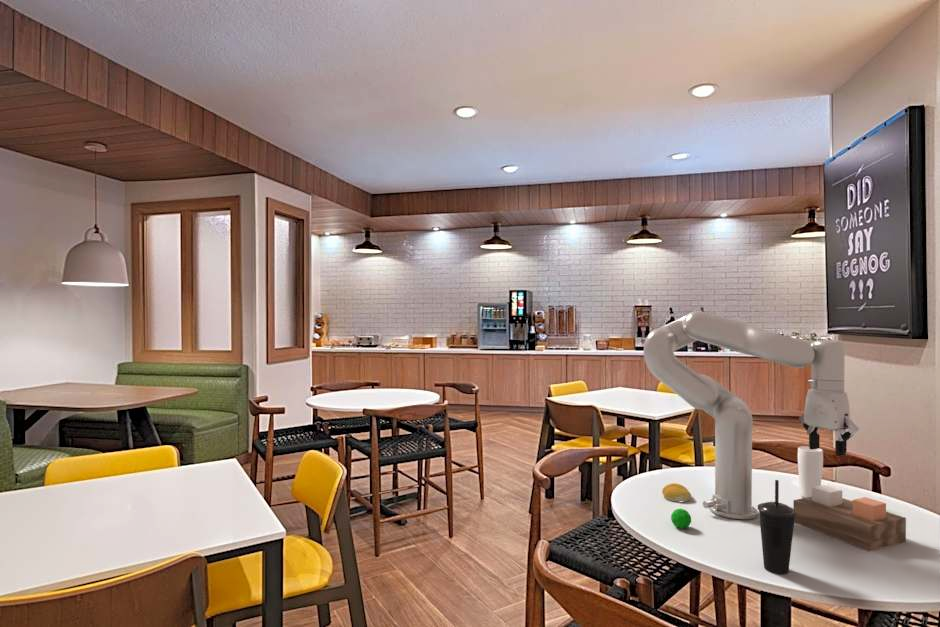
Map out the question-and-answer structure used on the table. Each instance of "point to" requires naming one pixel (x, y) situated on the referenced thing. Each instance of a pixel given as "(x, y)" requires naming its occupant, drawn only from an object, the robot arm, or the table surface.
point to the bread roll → (676, 492)
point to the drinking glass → (809, 469)
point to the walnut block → (850, 524)
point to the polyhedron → (681, 518)
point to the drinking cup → (776, 533)
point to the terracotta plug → (869, 509)
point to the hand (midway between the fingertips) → (827, 451)
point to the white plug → (827, 495)
